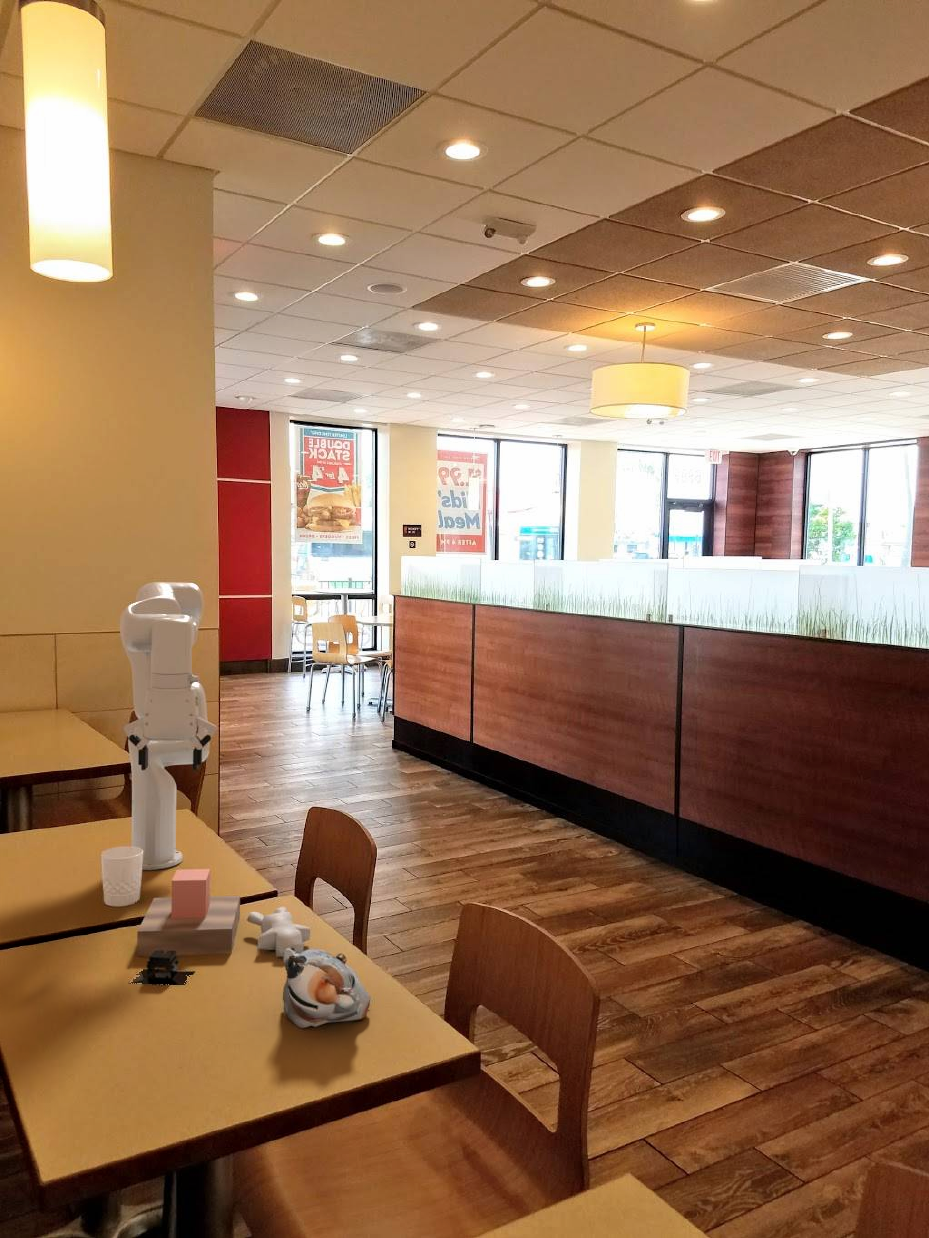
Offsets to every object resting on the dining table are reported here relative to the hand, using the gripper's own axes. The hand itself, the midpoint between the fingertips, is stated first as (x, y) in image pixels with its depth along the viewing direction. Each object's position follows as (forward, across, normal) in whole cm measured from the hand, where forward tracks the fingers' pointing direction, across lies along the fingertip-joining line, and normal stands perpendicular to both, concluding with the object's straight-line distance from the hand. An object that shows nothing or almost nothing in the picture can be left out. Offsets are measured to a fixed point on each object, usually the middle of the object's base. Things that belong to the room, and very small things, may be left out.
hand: (170, 768), depth 180 cm
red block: (+24, -6, +13) cm, 28 cm away
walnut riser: (+29, -6, +13) cm, 32 cm away
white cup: (+28, +10, -6) cm, 31 cm away
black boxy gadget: (+29, -4, +30) cm, 42 cm away
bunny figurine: (+29, -22, +17) cm, 40 cm away
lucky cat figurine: (+29, -30, +46) cm, 62 cm away
